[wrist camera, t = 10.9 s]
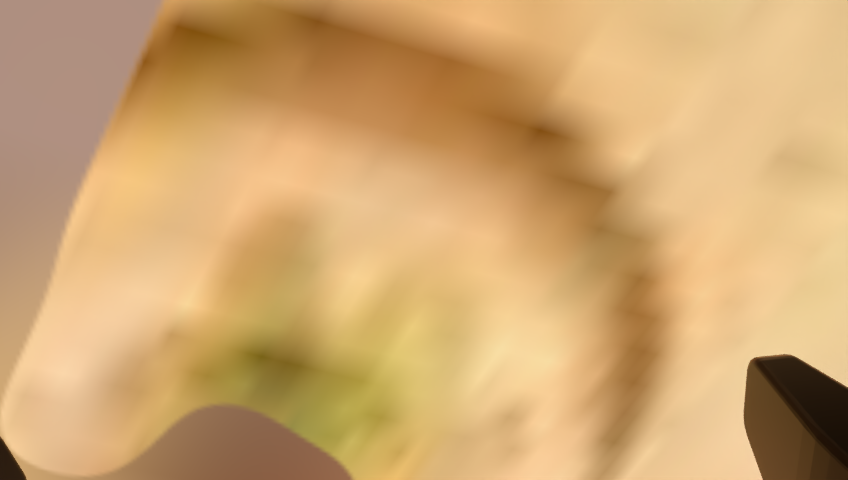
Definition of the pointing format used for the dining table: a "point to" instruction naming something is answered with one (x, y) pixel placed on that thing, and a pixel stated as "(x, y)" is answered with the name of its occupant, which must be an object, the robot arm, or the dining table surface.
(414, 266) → the dining table surface
